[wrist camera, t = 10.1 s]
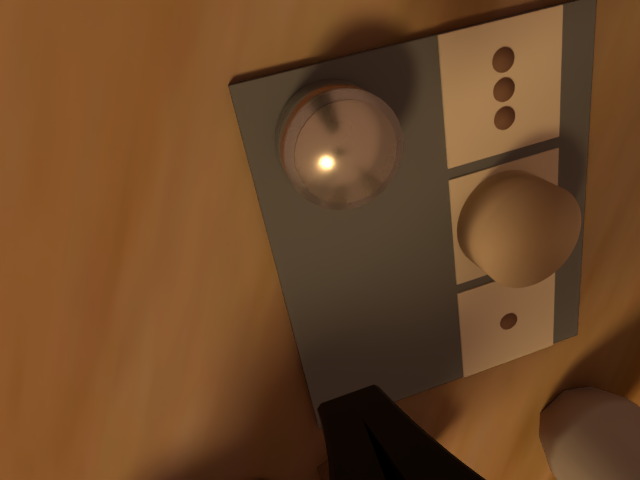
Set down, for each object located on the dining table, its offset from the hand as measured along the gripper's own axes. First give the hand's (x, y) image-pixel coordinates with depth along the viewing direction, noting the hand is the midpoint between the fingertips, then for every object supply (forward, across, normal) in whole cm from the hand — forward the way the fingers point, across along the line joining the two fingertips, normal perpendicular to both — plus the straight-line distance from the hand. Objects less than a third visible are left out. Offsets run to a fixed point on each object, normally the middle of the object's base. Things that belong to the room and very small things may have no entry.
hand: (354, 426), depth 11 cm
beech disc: (+10, -10, +2) cm, 14 cm away
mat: (+10, -7, +2) cm, 12 cm away
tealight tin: (+10, -3, -4) cm, 11 cm away
